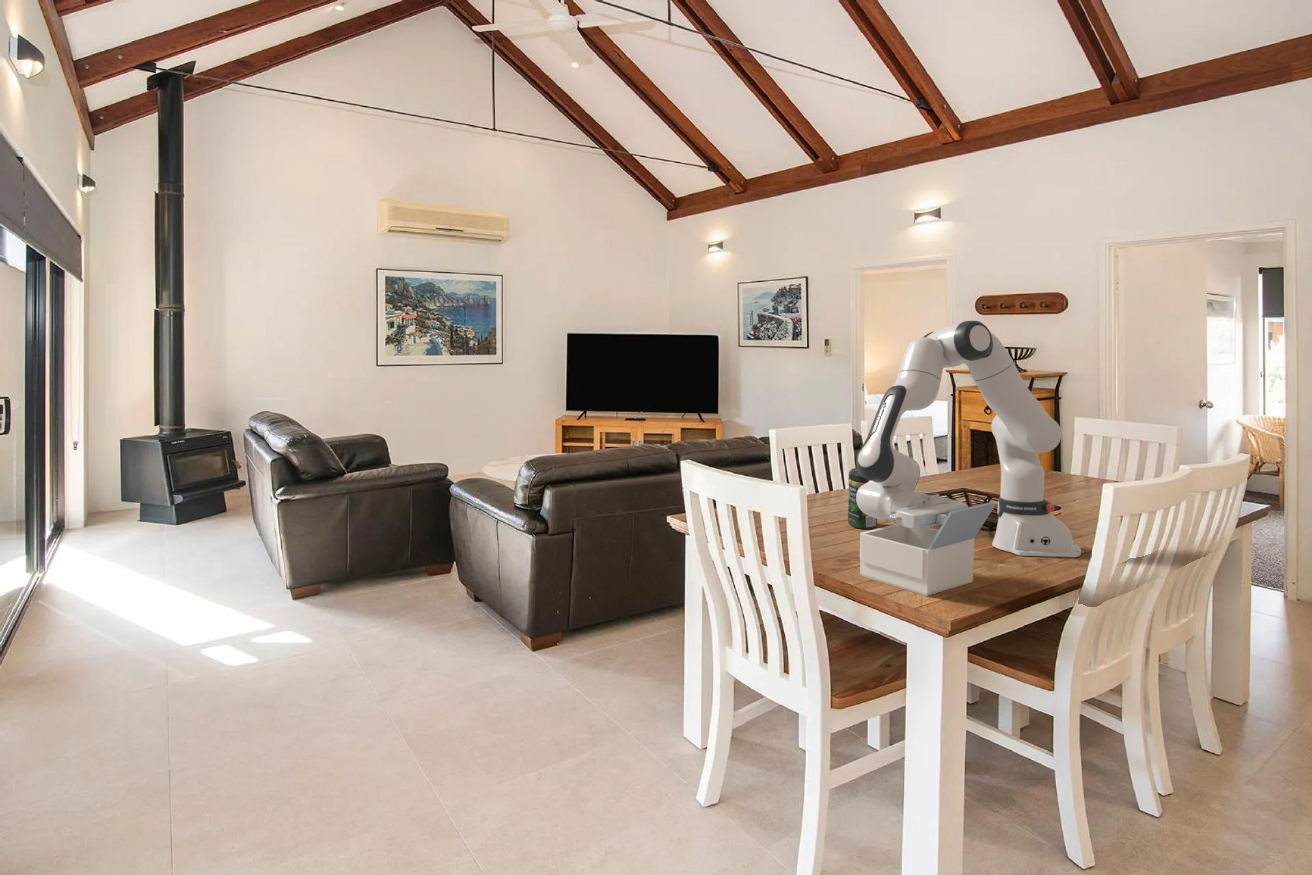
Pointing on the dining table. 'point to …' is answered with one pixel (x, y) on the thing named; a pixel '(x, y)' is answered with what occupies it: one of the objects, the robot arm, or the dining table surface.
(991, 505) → the lid flap
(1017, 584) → the dining table surface
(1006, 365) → the robot arm
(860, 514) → the coffee jar
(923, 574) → the carton
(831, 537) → the dining table surface
